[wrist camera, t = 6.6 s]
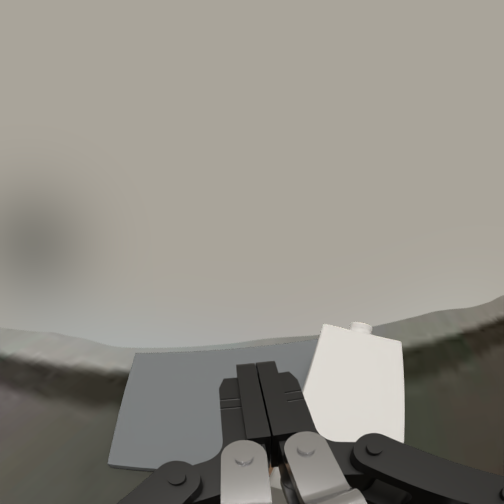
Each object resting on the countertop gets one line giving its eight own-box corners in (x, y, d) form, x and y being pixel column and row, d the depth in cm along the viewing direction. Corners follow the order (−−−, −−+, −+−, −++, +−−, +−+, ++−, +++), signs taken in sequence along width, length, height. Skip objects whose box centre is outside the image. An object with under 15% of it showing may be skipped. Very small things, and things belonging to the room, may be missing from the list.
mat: (110, 467, 17) (107, 463, 17) (137, 356, 32) (135, 352, 32) (387, 437, 20) (388, 433, 19) (330, 340, 35) (331, 336, 34)
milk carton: (252, 514, 13) (314, 352, 30) (349, 534, 11) (375, 366, 28) (266, 488, 10) (329, 298, 27) (398, 510, 8) (399, 315, 25)
